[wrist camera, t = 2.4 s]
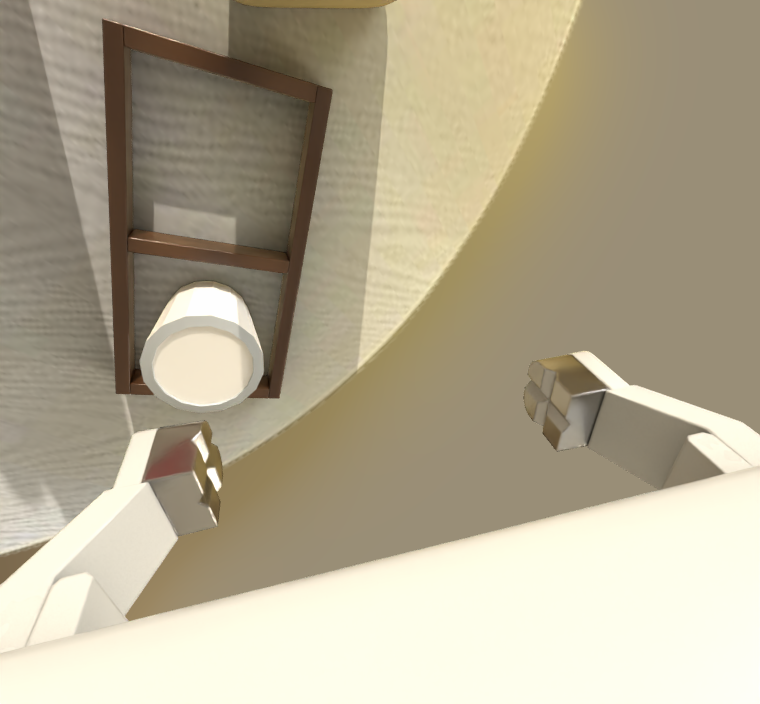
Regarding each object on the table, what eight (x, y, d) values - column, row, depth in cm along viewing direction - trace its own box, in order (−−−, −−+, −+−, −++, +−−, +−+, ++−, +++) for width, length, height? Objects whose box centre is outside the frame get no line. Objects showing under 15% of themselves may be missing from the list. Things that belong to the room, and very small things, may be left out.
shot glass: (276, 325, 33) (286, 375, 27) (201, 373, 33) (196, 432, 27) (217, 253, 29) (214, 292, 23) (132, 307, 29) (109, 360, 23)
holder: (121, 378, 31) (115, 394, 30) (111, 22, 22) (101, 17, 20) (277, 384, 35) (279, 398, 34) (326, 89, 26) (333, 89, 24)
